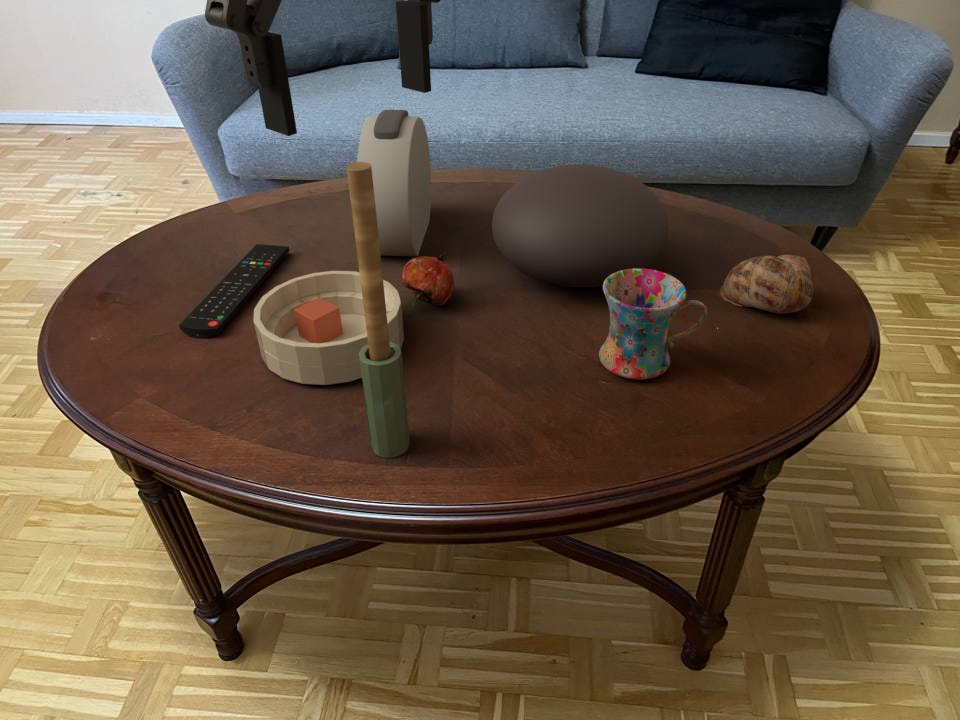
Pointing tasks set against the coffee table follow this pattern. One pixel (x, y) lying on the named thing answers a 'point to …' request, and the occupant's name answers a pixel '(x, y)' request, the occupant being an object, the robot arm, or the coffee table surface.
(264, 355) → the bowl
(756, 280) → the seashell
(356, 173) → the stick
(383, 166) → the alarm clock
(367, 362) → the holder
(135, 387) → the coffee table surface
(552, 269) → the flattened ellipsoid
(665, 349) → the mug
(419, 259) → the pomegranate
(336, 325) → the block
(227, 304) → the remote control
